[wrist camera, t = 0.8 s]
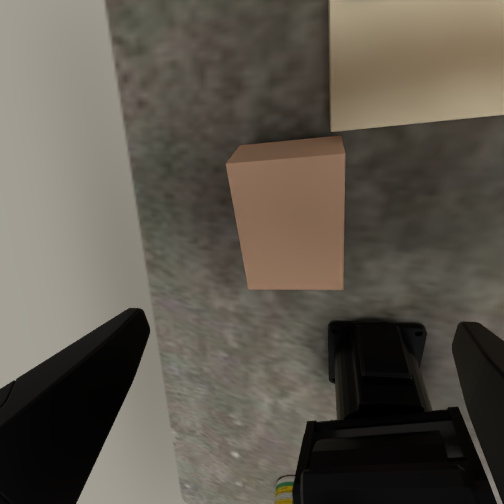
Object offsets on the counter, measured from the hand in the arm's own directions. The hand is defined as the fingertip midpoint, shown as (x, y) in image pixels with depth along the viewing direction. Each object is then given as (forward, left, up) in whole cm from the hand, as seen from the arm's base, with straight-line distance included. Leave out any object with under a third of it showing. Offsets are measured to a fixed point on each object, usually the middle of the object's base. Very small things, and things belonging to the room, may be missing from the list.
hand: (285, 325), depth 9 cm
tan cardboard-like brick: (-1, 0, -11) cm, 11 cm away
